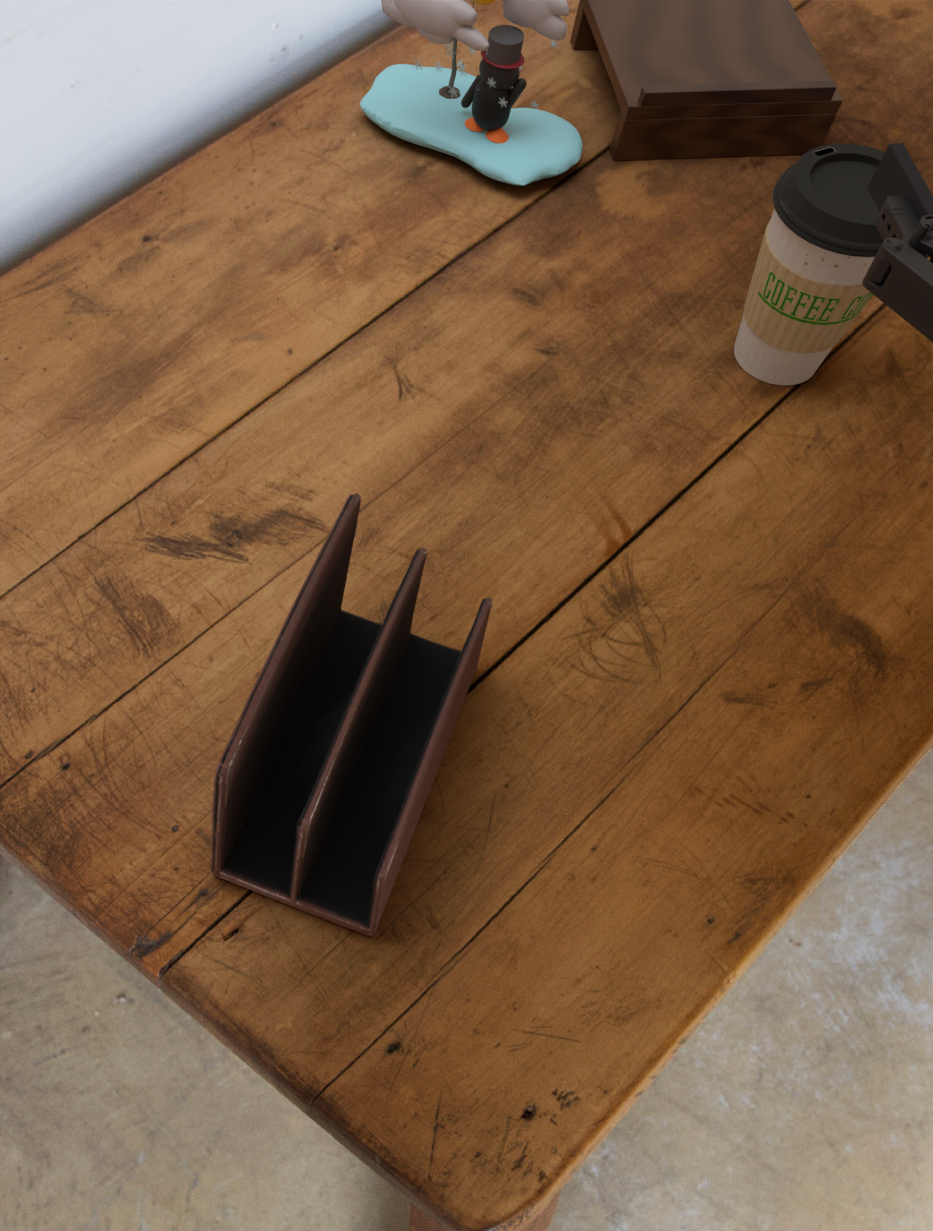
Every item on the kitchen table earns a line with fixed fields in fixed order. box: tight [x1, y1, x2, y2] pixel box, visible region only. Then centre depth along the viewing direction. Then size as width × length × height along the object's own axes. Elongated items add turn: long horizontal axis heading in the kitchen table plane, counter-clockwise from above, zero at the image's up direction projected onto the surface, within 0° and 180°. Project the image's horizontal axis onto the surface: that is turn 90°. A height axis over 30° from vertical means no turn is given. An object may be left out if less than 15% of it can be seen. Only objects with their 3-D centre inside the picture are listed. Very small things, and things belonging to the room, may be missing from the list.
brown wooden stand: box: [569, 0, 843, 161], centre depth 110 cm, size 18×18×6 cm
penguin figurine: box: [359, 0, 584, 187], centre depth 103 cm, size 20×11×15 cm, turn 50°
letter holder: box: [210, 492, 493, 938], centre depth 70 cm, size 10×20×14 cm, turn 157°
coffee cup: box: [733, 142, 885, 386], centre depth 89 cm, size 10×10×15 cm
